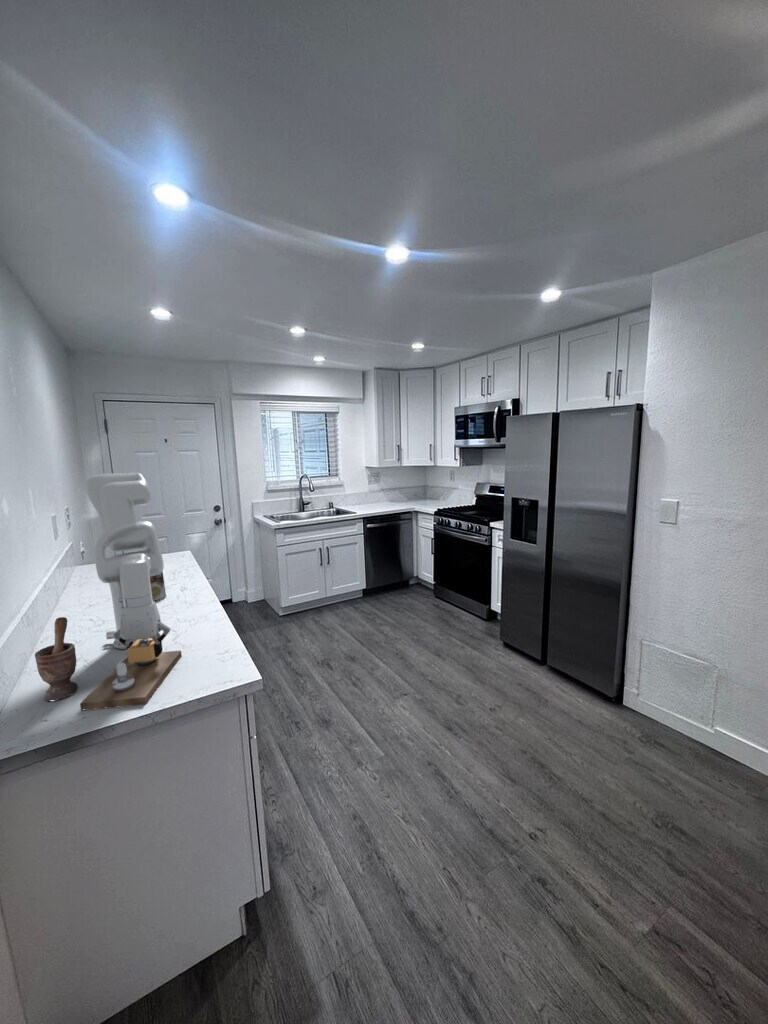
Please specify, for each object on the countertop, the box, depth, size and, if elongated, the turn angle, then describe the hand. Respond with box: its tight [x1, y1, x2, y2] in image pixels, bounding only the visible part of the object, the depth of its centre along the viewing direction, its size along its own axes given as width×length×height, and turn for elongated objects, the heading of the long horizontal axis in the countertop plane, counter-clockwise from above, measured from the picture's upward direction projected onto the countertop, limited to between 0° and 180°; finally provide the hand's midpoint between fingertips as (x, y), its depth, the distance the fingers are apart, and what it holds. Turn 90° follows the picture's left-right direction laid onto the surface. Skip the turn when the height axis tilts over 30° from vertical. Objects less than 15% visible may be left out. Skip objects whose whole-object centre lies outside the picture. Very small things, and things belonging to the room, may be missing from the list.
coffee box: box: [150, 570, 167, 602], centre depth 191 cm, size 9×6×16 cm
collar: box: [126, 638, 155, 662], centre depth 129 cm, size 7×7×4 cm
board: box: [79, 650, 183, 711], centre depth 123 cm, size 16×26×2 cm, turn 6°
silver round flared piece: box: [112, 661, 135, 693], centre depth 115 cm, size 5×5×7 cm
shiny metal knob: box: [137, 639, 156, 666], centre depth 129 cm, size 5×5×7 cm
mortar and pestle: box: [34, 616, 79, 701], centre depth 117 cm, size 12×9×20 cm
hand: (145, 655), depth 129 cm, fingers closed on collar, 6 cm apart
